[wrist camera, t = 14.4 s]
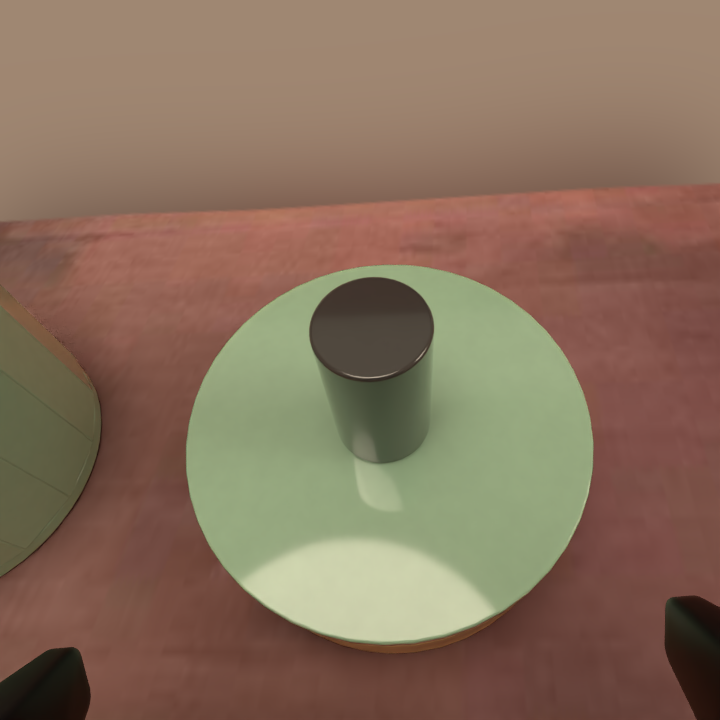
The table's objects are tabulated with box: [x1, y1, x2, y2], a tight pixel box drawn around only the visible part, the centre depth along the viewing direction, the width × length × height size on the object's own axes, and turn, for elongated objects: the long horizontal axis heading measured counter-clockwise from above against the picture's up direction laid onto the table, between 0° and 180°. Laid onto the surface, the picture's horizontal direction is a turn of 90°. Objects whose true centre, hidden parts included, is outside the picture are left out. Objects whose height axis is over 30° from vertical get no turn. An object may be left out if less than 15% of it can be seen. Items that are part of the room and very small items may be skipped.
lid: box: [186, 265, 594, 646], centre depth 15 cm, size 12×12×6 cm
